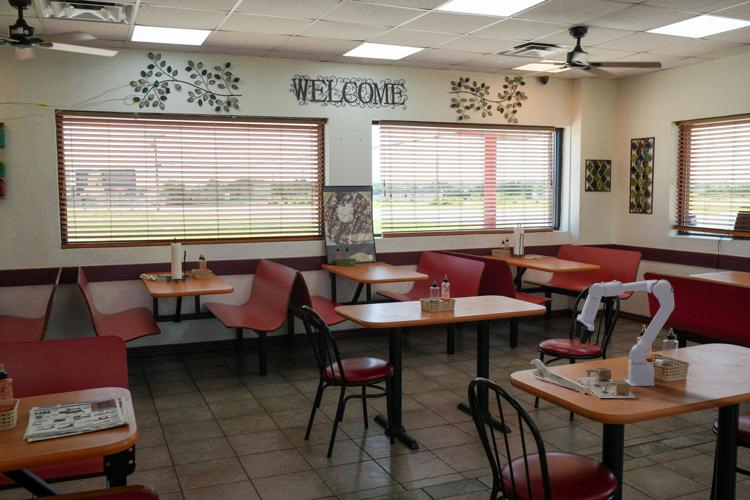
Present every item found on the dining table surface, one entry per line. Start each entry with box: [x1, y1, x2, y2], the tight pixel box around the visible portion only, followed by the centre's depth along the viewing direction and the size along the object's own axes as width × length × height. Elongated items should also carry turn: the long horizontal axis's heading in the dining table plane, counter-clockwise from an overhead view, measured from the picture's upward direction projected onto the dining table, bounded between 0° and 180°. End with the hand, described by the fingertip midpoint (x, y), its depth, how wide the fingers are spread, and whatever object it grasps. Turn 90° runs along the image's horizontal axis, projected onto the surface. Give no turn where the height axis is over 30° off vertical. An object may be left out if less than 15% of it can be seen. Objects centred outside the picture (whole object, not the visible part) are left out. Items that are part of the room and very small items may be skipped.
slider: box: [583, 367, 612, 380], centre depth 280 cm, size 10×5×4 cm, turn 92°
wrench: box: [529, 358, 590, 394], centre depth 275 cm, size 8×2×30 cm
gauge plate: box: [576, 376, 636, 399], centre depth 270 cm, size 14×26×5 cm, turn 2°
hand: (579, 340), depth 286 cm, fingers open, 7 cm apart
